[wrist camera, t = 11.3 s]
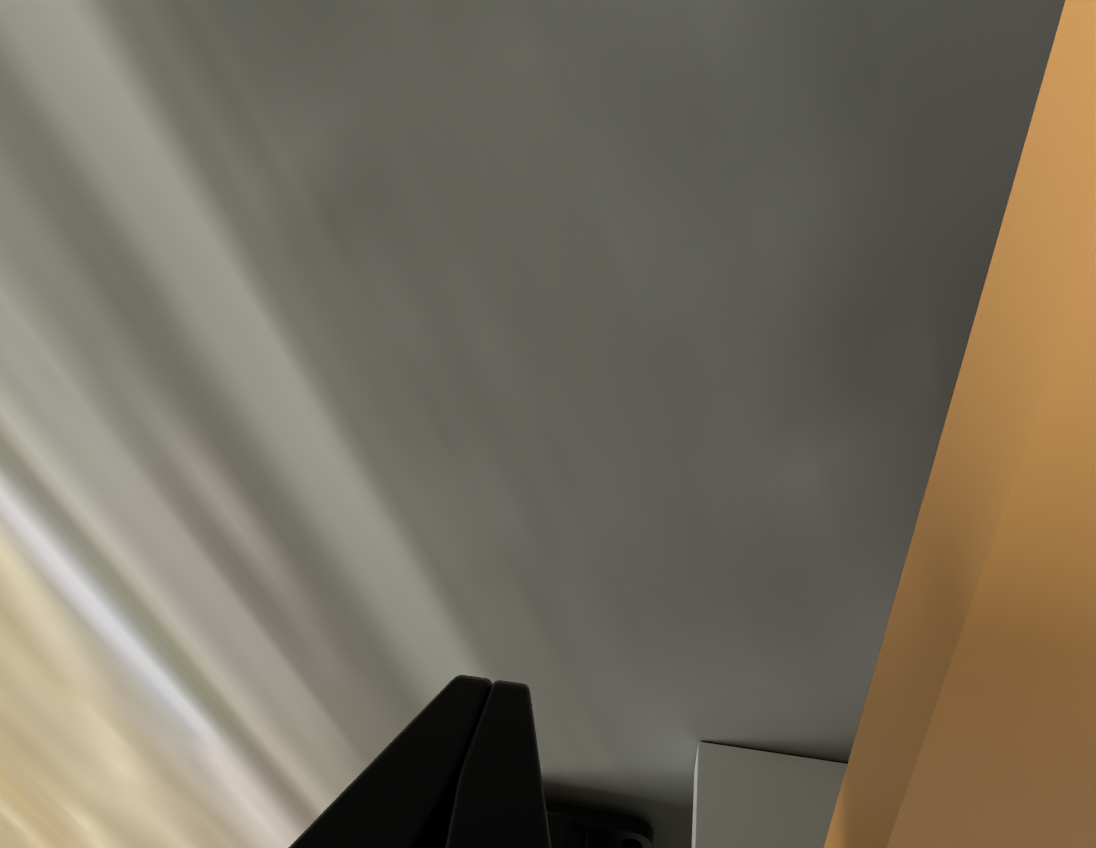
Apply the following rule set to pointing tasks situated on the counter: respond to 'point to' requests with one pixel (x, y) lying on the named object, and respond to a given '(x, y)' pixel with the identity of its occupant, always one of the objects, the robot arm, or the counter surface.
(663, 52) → the counter surface
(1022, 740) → the orange cover
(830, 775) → the housing
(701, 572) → the counter surface
